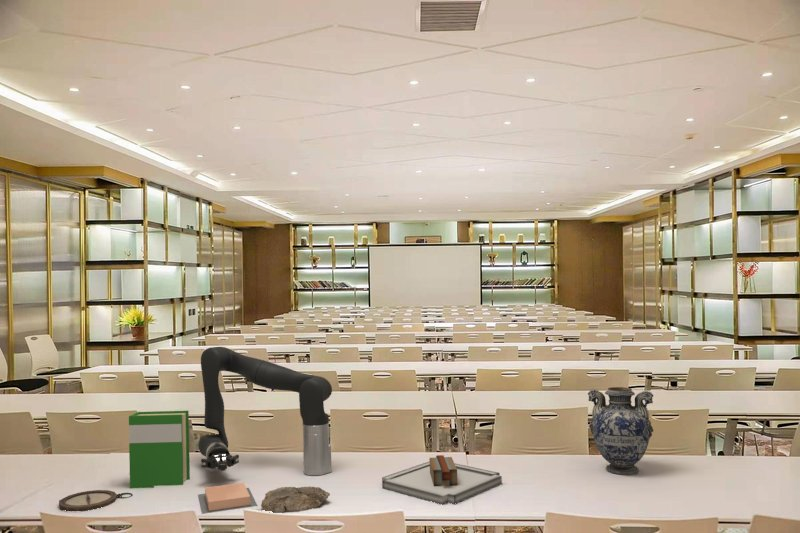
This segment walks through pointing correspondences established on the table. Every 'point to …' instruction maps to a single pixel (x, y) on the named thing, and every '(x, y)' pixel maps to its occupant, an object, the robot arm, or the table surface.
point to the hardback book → (159, 448)
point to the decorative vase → (621, 428)
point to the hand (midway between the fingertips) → (223, 467)
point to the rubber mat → (205, 509)
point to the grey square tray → (441, 481)
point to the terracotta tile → (227, 496)
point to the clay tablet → (293, 499)
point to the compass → (89, 500)
